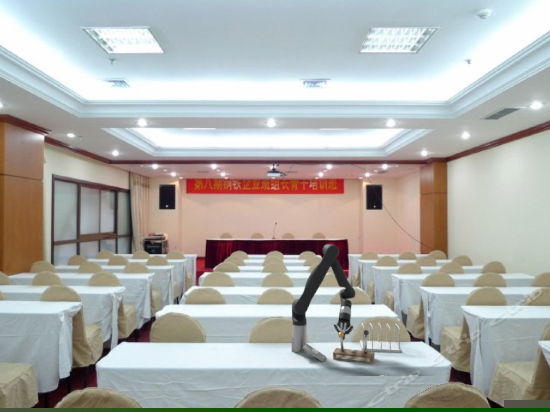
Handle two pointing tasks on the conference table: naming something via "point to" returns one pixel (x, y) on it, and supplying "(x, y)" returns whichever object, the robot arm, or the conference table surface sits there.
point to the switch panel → (353, 355)
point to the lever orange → (341, 340)
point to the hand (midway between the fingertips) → (342, 339)
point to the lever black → (365, 341)
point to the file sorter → (379, 345)
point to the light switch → (314, 352)
